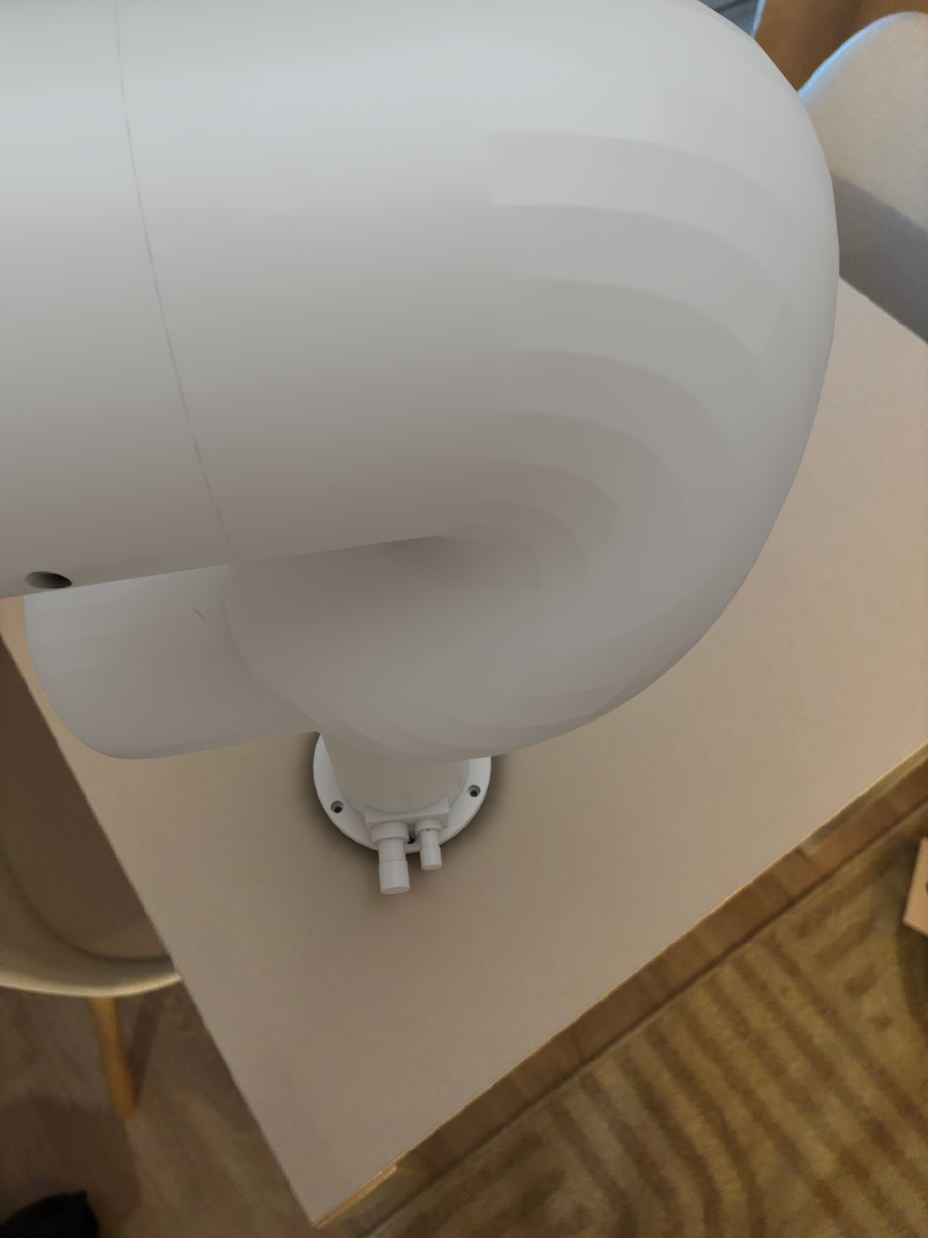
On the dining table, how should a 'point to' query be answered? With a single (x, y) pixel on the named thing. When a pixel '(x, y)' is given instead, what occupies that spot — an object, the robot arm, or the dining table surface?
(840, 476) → the dining table surface
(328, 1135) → the dining table surface
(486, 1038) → the dining table surface
